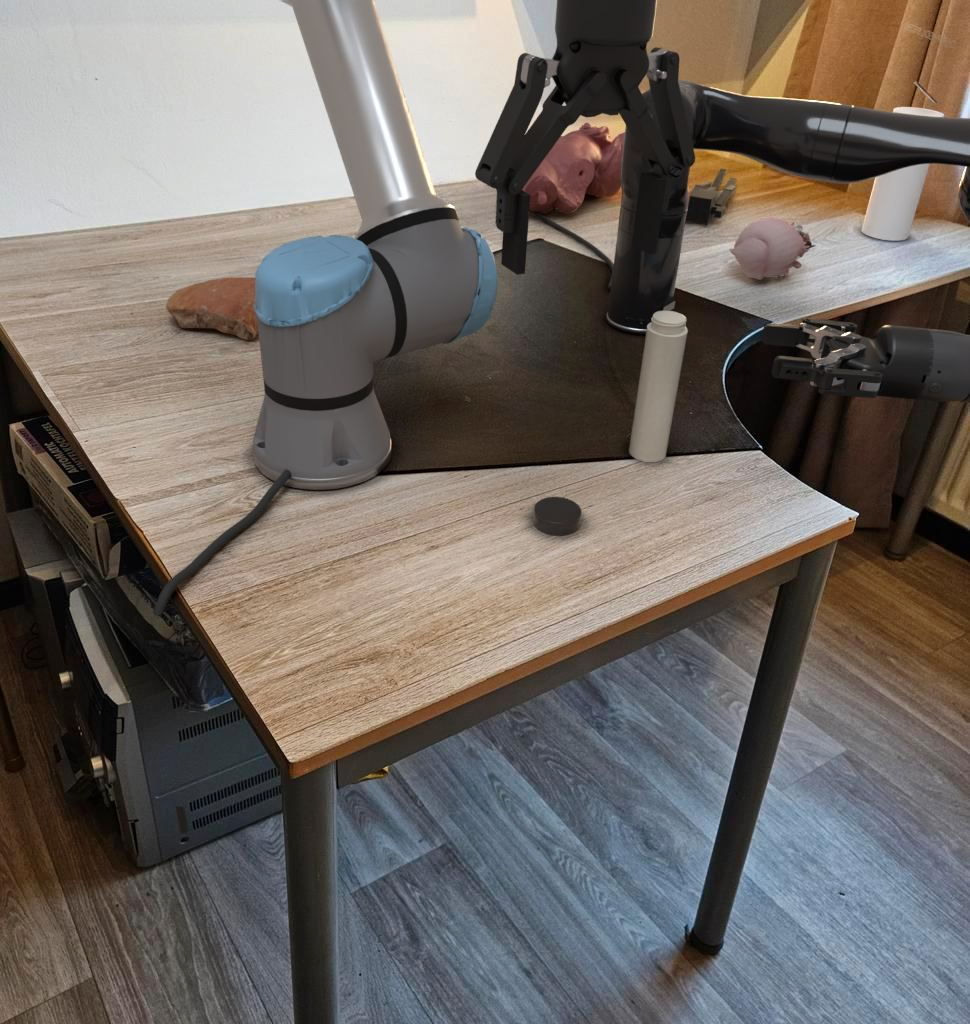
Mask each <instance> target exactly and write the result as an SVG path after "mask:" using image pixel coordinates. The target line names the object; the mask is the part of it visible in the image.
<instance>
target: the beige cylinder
mask: <svg viewBox="0 0 970 1024" xmlns="http://www.w3.org/2000/svg"><path fill="white" fill-rule="evenodd" d="M651 321H652V322H651V323H649V324H648V325H647V331H646V334H645V337H644V338H645V339H644V344H643V350H642V351H643V352H642V357H641V366H640V370H639V372H640V373H639V378H638V385H637V393H636V399H635V404H634V405H635V406H634V412H633V418H632V425H631V433H630V441H629V446H628V453H629V455H630V456H631V457H632V458H634V459H635V460H637V461H640V462H644V463H658V462H661V461H663V460H665V459H666V457H667V453H668V448H669V441H670V435H671V430H672V424H673V419H674V413H675V407H676V401H677V396H678V390H679V385H680V378H681V373H682V368H683V362H684V357H685V349H686V344H687V338H688V332H689V329H688V328H687V325H686V323H687V321H688V320H687V317H686V316H685V315H684V314H682V313H679V312H678V311H673V310H671V311H658V312H655V313H654V314H653V317H652V318H651Z"/></svg>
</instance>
